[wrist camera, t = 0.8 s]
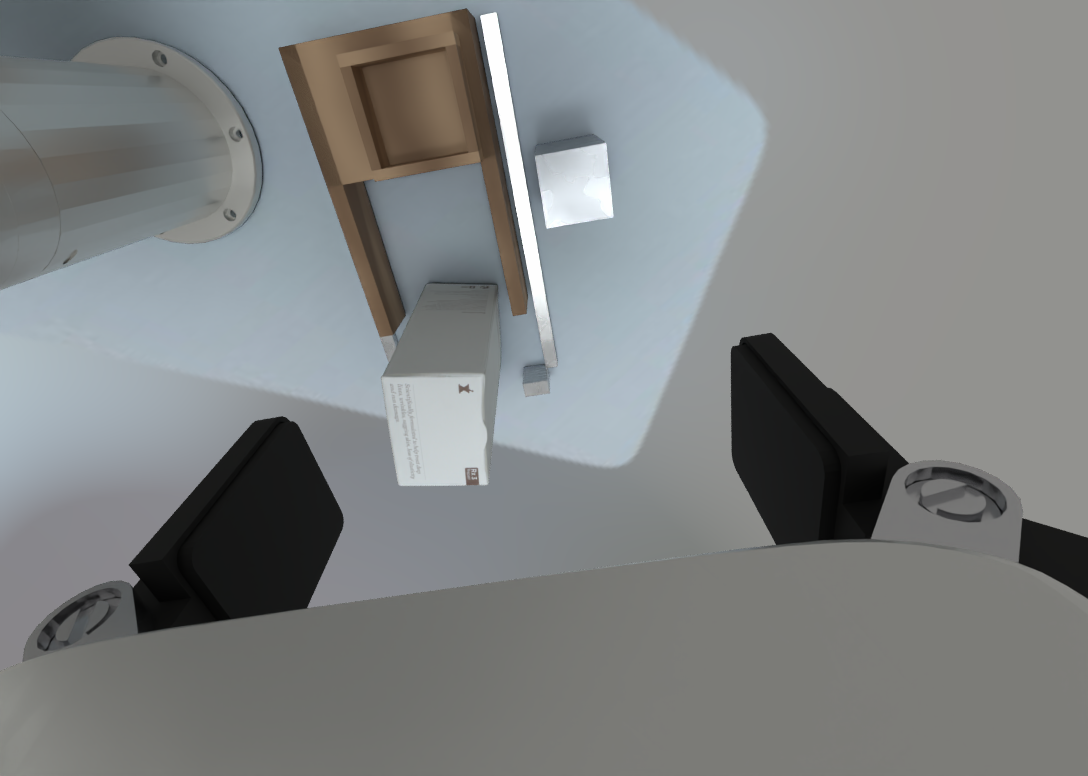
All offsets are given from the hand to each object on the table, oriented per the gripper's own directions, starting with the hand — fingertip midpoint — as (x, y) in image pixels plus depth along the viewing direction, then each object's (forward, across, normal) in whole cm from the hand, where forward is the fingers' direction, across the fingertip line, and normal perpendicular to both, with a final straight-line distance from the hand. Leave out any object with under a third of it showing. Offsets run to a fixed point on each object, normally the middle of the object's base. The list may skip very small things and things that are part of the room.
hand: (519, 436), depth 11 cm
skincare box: (+30, +7, +9) cm, 33 cm away
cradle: (+30, +7, -2) cm, 31 cm away
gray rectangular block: (+30, -3, -1) cm, 30 cm away
